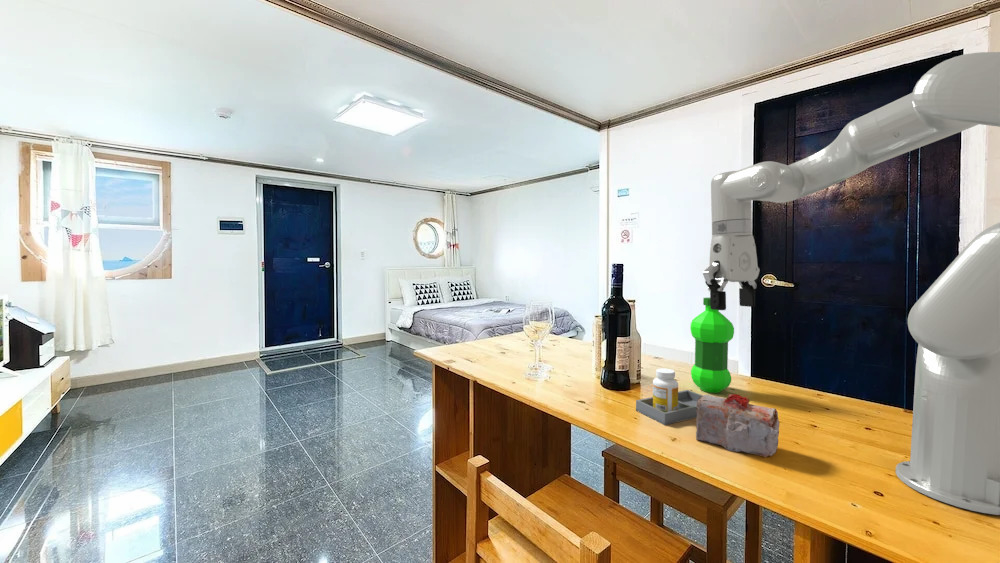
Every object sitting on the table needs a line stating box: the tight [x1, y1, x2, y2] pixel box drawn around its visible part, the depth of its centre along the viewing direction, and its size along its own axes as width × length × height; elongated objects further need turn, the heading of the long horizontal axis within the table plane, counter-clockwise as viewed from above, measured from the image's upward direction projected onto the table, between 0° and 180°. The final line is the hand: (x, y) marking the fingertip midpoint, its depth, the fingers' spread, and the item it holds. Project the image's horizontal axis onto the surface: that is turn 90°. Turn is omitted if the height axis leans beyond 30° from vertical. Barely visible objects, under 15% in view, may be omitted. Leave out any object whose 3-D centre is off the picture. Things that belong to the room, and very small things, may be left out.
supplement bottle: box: [652, 367, 679, 412], centre depth 89 cm, size 5×5×10 cm
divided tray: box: [635, 389, 704, 426], centre depth 91 cm, size 9×17×2 cm, turn 113°
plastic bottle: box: [689, 297, 735, 394], centre depth 104 cm, size 10×10×25 cm
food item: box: [695, 393, 780, 458], centre depth 74 cm, size 14×8×10 cm, turn 52°
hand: (733, 307), depth 85 cm, fingers open, 9 cm apart
